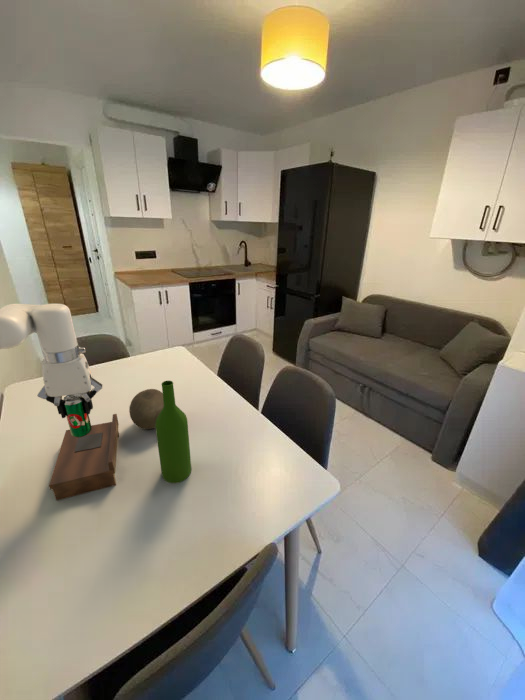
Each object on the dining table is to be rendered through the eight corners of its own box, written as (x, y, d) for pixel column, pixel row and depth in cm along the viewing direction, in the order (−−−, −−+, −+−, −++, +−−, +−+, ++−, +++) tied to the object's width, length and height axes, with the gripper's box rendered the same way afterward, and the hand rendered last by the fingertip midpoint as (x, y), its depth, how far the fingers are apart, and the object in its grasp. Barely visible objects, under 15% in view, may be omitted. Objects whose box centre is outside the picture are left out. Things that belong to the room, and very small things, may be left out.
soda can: (84, 424, 86) (76, 389, 81) (96, 430, 84) (88, 395, 79) (67, 434, 82) (57, 398, 77) (78, 440, 79) (69, 404, 75)
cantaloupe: (128, 440, 103) (122, 405, 97) (136, 416, 116) (130, 383, 110) (169, 436, 106) (166, 401, 100) (172, 412, 119) (169, 381, 113)
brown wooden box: (54, 501, 80) (45, 477, 77) (70, 443, 101) (63, 423, 97) (117, 484, 86) (112, 462, 82) (120, 433, 106) (116, 413, 103)
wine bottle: (192, 459, 96) (185, 374, 83) (190, 481, 88) (183, 390, 75) (164, 462, 95) (152, 375, 81) (160, 485, 87) (146, 392, 73)
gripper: (101, 344, 79) (112, 400, 86) (25, 351, 73) (44, 410, 80) (98, 356, 72) (110, 415, 80) (14, 364, 66) (35, 427, 74)
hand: (77, 412), depth 80 cm, fingers closed on soda can, 5 cm apart
